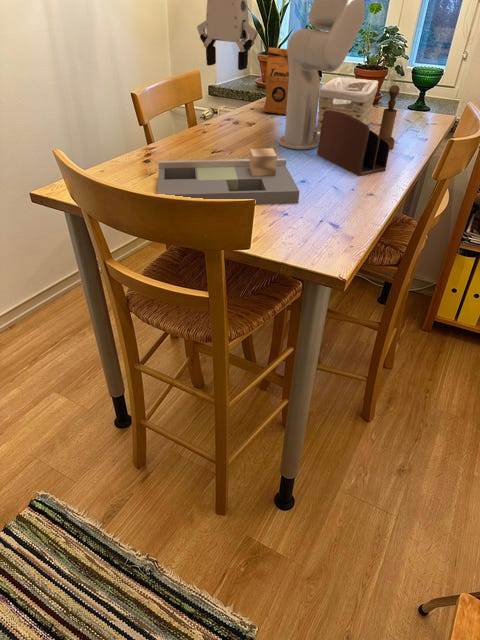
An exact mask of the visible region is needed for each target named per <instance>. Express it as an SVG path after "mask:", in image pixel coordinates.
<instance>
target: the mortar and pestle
mask: <svg viewBox="0 0 480 640" xmlns="http://www.w3.org/2000/svg"><path fill="white" fill-rule="evenodd" d="M400 89H401V88H400V86H399V85H397V84H394V85H391V86H390V87H389V89H388V94H389V96H390V97H389V100H388V103H387V104H388V105H387V107H388V108H384V109H383V111H382V112H383V113H382V119H381V123H380V128H379V132H378V134H377V135H378V136H379V137H381V138H383V139H384V140H386V141H387V142H388V143H389V145H390V150H393V149H394V146H395V143H396V140H395V139H394V137H392V135H393V131H394V130H393V129H394V126H395V121H396V116H397V109H395V107H396V104H397V101H396V98H397V96H398V95H399V93H400Z"/></svg>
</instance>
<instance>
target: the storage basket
mask: <svg viewBox="0 0 480 640" xmlns="http://www.w3.org/2000/svg"><path fill="white" fill-rule="evenodd" d="M349 87H351V88H358V89H361V90H360V91H358V92H356V91H349ZM378 87H379V81H378V80H374V79H371V80H370V79H364V78H353V77H352V78H350V77H342V76H337V77H335V78H332V79H331V80H329V81H328V82H327V83H325V84H323V85H322V86H320V91H319V99H318V111H317V117H318V118H317V127H316V128H317V129H316V130H317V131H321V126H322V120H323V114H324V111H326V110H330V111H337V112H341V113H344V114H347V115H349V116H352V117H354V118H356V119H358V120H359V121H361V122H363V123H364V124H366V125H367V126H368V124H369V121H370V117H371V113H372V110H373V106H374V105H373V104H374V101H375V98H376V97H375V96H376V94H377V93H378V92H377V91H378Z"/></svg>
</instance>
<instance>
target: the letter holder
mask: <svg viewBox="0 0 480 640" xmlns="http://www.w3.org/2000/svg"><path fill="white" fill-rule="evenodd" d="M378 135H379V134H377V133H376V132H374V131H372V130H371V129H370V127H369V126H368V124H367V125H366V124H364V123H363V122H361V121H359V120H358V119H356V118H354V117H352V116H349V115H347V114H344V113H341V112H337V111H330V110H326V111H324V114H323V120H322V126H321V132H320V138H319V140H318V146H317V150H316V151H317V152H316V155H317V156H318V157H320V158H323V159H325V160H327V161H329V162H330V163H332V164H333V165H336V166H337V167H340V168H341V169H344V170H346V171H348V172H350V173H352V174H353V175H356V176H358V177H363V176H367V175H372V174H377V173H381V172H385V171H386V169H387V164H388V158H389V154H390V153H389V152H390V150H391V149H390V145H389V143H388V142H387V141H386V140H384V139H383V138H381V137H379V136H378Z"/></svg>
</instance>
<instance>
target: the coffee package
mask: <svg viewBox="0 0 480 640" xmlns="http://www.w3.org/2000/svg"><path fill="white" fill-rule="evenodd" d="M288 84H289V63H288V48H280V47H279V48H277V47H268V48H267V61H266V72H265V102H264V105H263V107H264V108H263V111H264V112H265V113H270V114H275V115H276V114H278V115H283V116H286V109H287V96H288Z"/></svg>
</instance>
